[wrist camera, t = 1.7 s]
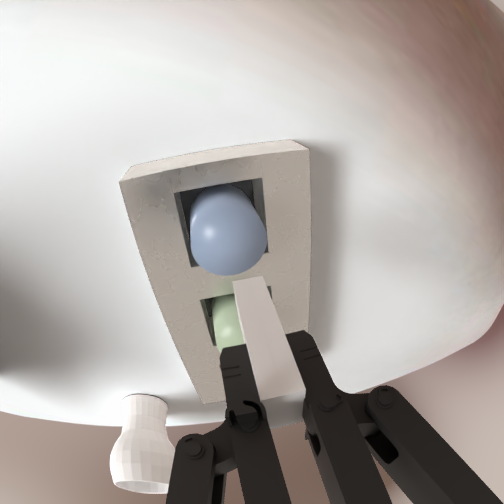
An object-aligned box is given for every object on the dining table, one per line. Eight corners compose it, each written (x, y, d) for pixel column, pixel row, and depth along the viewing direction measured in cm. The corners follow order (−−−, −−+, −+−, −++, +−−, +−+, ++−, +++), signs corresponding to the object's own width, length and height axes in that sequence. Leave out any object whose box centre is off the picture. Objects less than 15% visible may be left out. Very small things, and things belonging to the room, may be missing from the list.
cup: (183, 395, 40) (192, 483, 27) (168, 422, 44) (175, 496, 32) (116, 382, 36) (110, 474, 23) (111, 412, 40) (109, 488, 28)
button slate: (196, 247, 25) (199, 281, 21) (184, 190, 22) (183, 216, 18) (255, 236, 25) (269, 267, 21) (249, 179, 23) (264, 201, 18)
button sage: (216, 327, 30) (222, 363, 26) (206, 290, 27) (211, 327, 23) (263, 317, 31) (275, 352, 27) (259, 279, 28) (272, 314, 24)
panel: (200, 378, 38) (203, 404, 34) (130, 166, 22) (118, 181, 19) (295, 358, 40) (304, 382, 36) (290, 139, 24) (309, 149, 20)
